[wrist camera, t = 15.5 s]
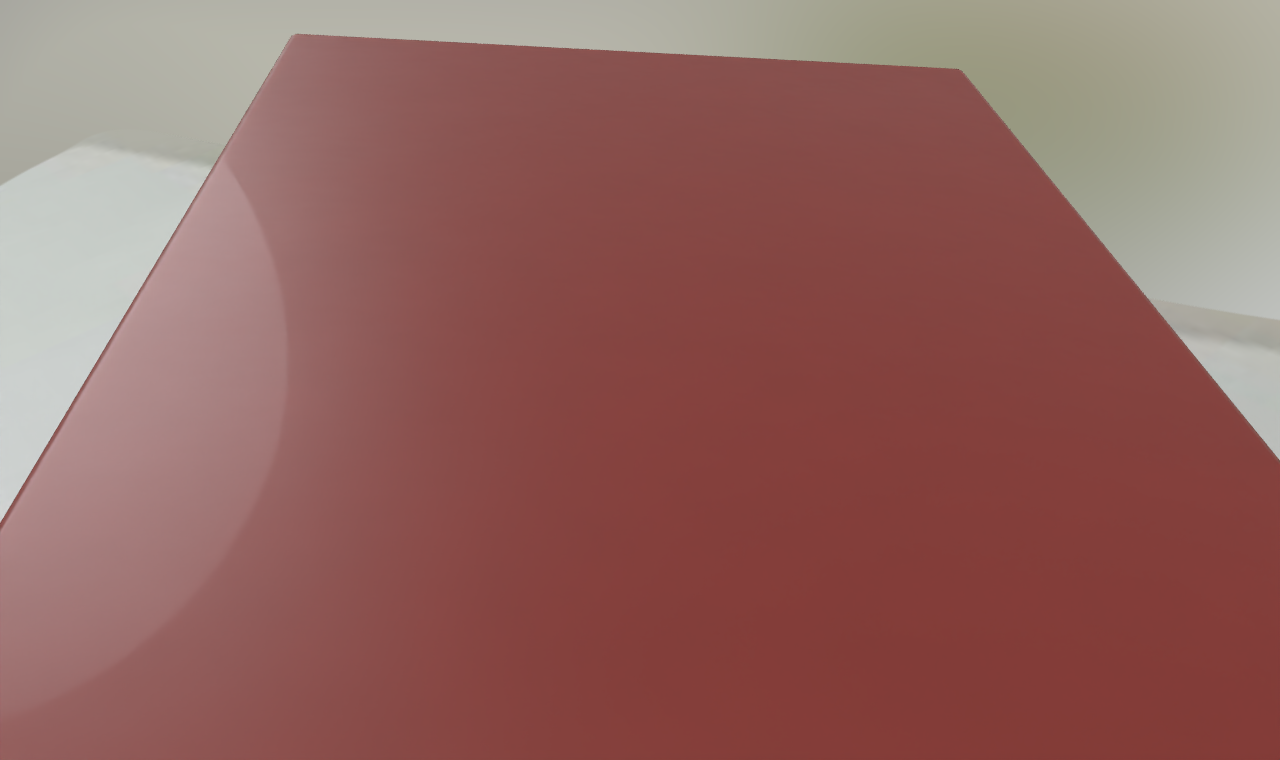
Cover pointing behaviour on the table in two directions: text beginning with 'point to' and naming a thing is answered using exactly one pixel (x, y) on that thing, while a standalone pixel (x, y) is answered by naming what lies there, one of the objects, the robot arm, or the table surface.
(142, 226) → the table surface
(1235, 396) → the table surface
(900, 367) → the carton
